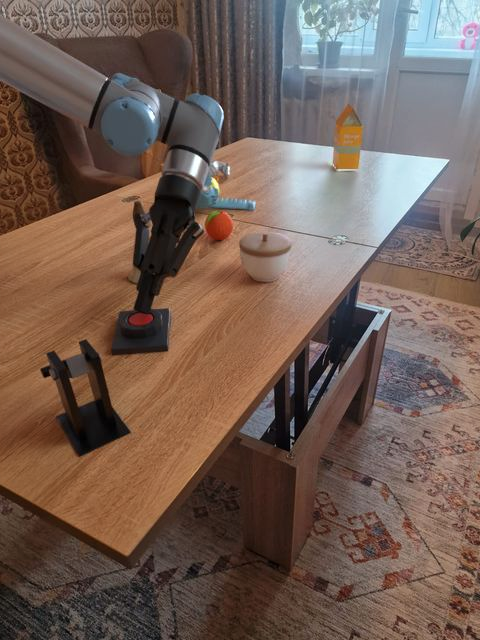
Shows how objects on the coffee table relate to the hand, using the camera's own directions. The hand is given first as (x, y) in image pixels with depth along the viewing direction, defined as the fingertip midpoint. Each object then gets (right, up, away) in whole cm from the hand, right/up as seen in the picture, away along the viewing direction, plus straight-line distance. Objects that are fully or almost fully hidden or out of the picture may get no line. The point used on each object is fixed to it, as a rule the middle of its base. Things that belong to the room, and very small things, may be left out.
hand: (141, 311), depth 81 cm
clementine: (+9, +21, +38) cm, 45 cm away
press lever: (-4, -10, -18) cm, 21 cm away
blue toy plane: (+4, +35, +58) cm, 68 cm away
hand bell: (-4, +9, +22) cm, 24 cm away
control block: (0, -4, +3) cm, 5 cm away
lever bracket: (-2, -17, -16) cm, 23 cm away
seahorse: (+3, +50, +79) cm, 93 cm away
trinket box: (+21, +9, +22) cm, 32 cm away
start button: (0, -3, +1) cm, 3 cm away
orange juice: (+50, +58, +91) cm, 119 cm away
